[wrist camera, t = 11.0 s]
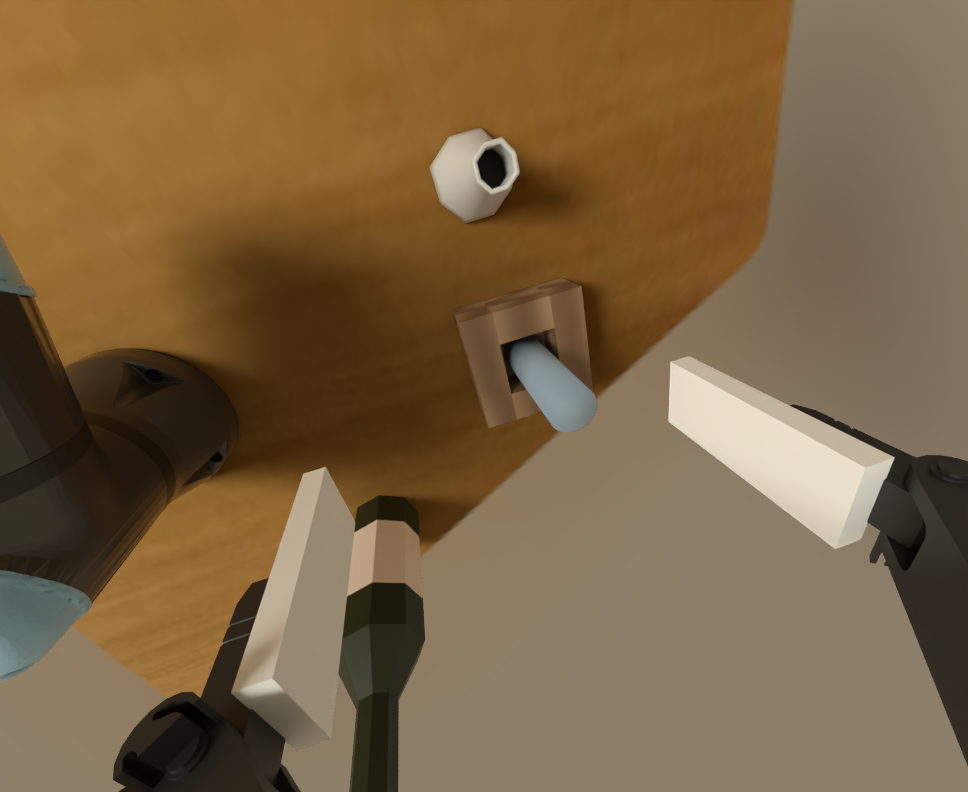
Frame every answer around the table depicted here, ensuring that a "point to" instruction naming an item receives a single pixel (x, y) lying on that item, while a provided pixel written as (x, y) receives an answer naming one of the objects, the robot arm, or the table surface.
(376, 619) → the wine bottle
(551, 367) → the dowel
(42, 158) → the table surface
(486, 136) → the flask
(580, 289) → the bore block
